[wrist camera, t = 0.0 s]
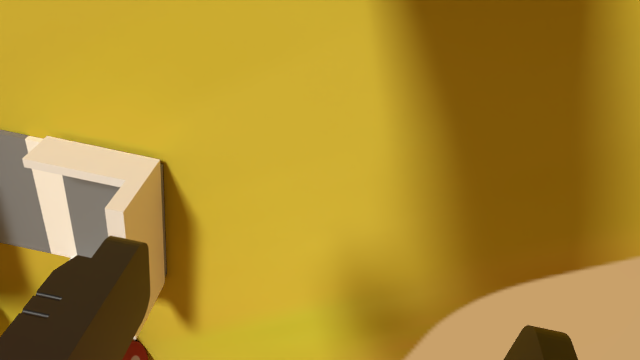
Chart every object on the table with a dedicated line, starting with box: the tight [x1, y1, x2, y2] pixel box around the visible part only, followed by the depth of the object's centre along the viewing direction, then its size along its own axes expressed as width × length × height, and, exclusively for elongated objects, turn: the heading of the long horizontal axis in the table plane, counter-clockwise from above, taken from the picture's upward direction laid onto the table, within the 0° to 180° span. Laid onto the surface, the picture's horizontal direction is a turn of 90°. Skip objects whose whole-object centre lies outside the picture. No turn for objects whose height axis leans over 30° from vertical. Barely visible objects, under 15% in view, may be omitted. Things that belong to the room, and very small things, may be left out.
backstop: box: [22, 136, 165, 340], centre depth 32 cm, size 11×7×5 cm, turn 171°
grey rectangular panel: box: [0, 130, 167, 276], centre depth 34 cm, size 10×21×1 cm, turn 81°
